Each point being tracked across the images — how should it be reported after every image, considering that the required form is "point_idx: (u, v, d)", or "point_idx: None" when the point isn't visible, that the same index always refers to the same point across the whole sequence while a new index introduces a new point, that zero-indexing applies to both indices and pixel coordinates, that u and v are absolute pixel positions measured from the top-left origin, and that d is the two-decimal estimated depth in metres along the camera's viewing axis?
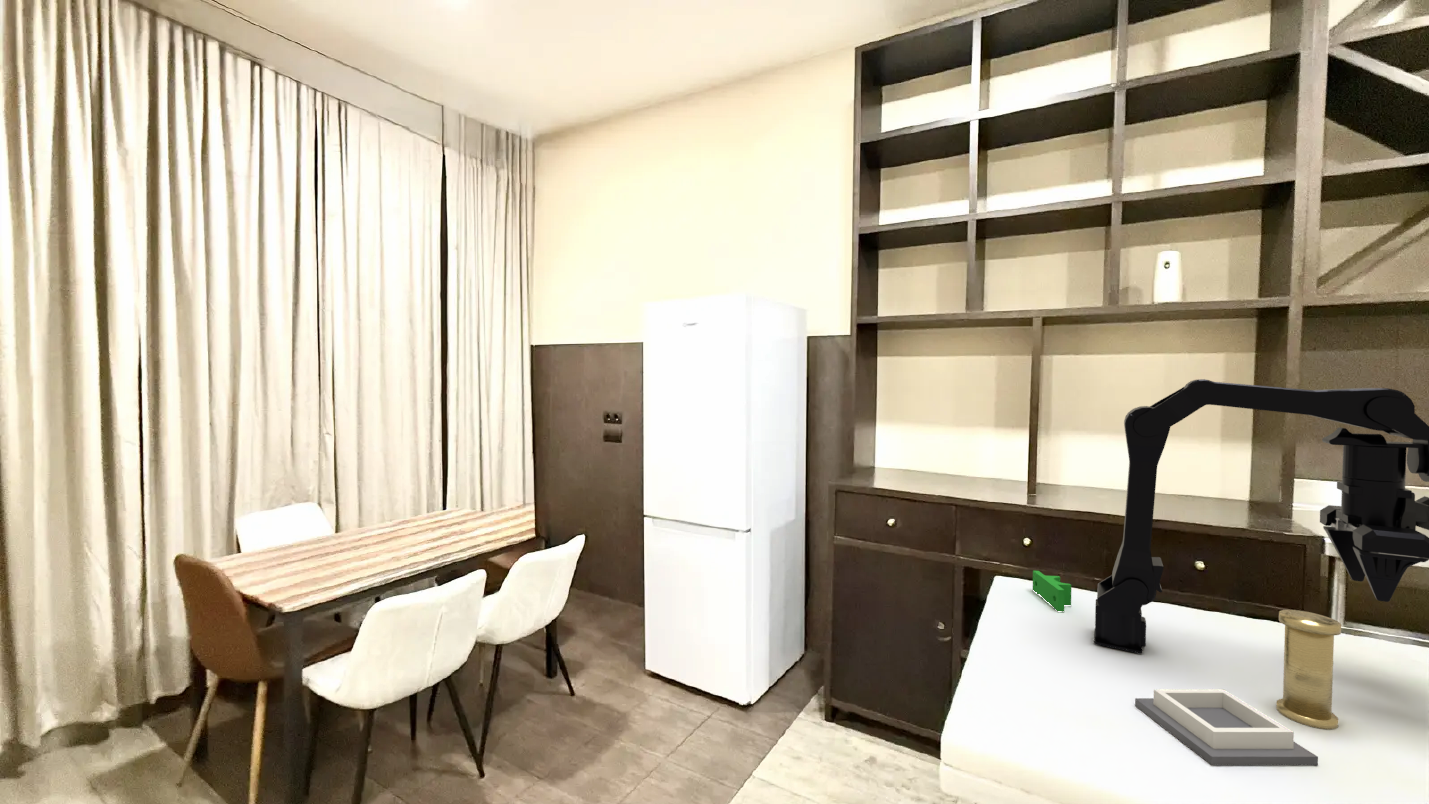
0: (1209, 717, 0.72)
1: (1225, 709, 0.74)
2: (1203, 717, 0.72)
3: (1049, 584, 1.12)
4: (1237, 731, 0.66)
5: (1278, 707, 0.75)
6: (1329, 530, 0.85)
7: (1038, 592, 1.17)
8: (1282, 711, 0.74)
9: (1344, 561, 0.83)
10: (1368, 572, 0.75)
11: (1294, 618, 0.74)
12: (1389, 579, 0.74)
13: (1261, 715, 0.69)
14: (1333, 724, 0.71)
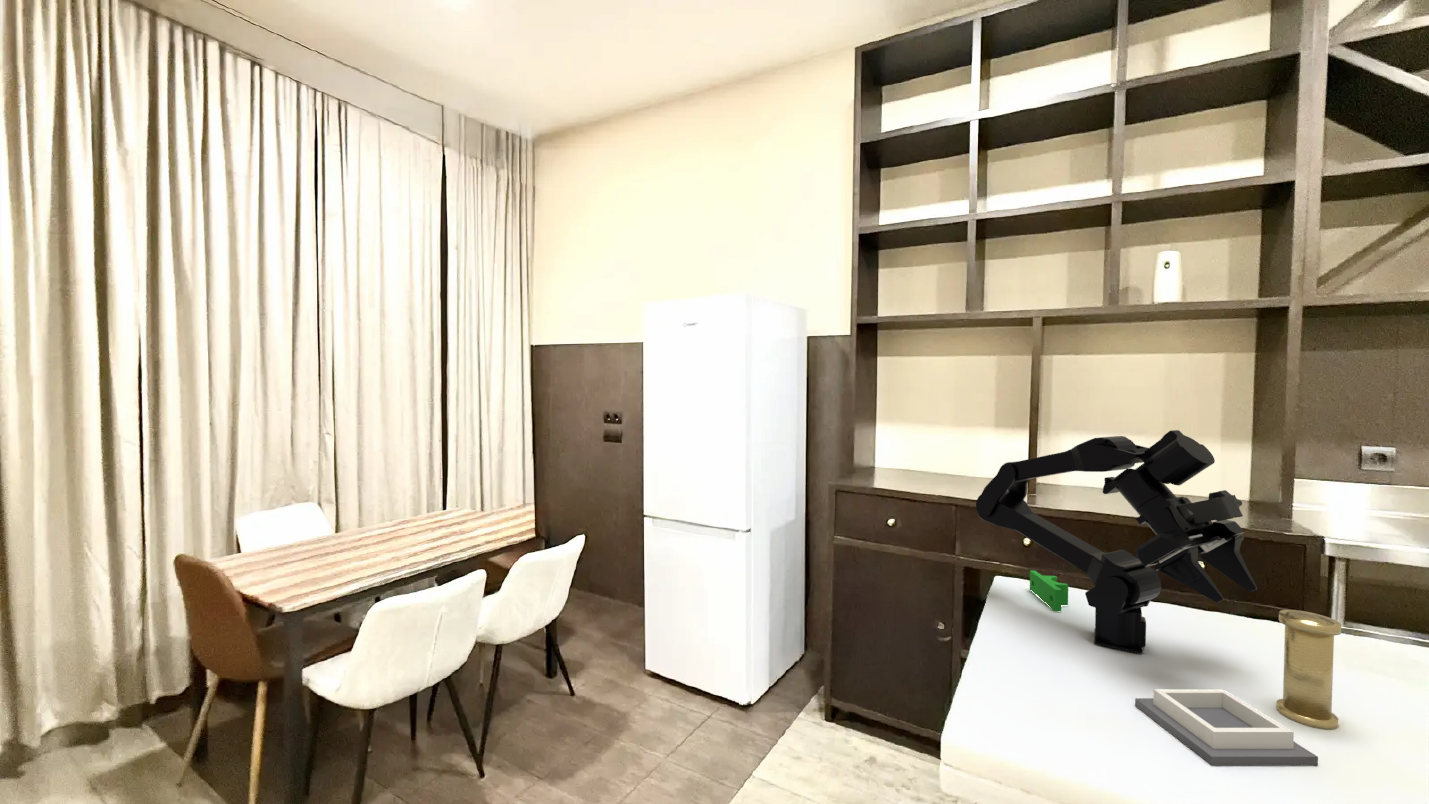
0: (1209, 717, 0.72)
1: (1225, 709, 0.74)
2: (1203, 717, 0.72)
3: (1046, 584, 1.12)
4: (1237, 731, 0.66)
5: (1278, 707, 0.75)
6: (1201, 556, 0.89)
7: (1035, 592, 1.17)
8: (1282, 711, 0.74)
9: (1230, 578, 0.85)
10: (1182, 582, 0.82)
11: (1294, 618, 0.74)
12: (1198, 579, 0.80)
13: (1261, 715, 0.69)
14: (1333, 724, 0.71)
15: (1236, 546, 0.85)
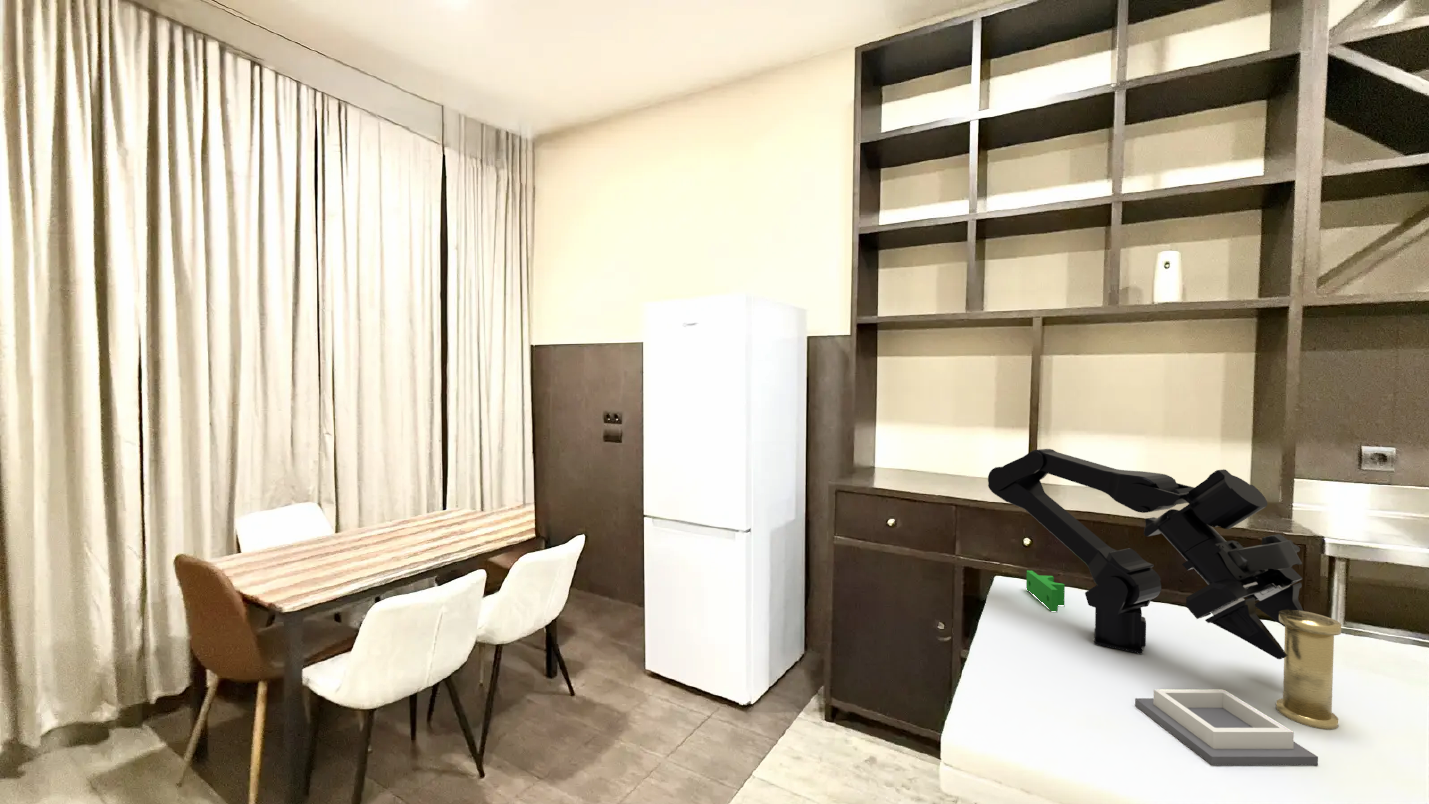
0: (1209, 717, 0.72)
1: (1225, 709, 0.74)
2: (1203, 717, 0.72)
3: (1042, 584, 1.12)
4: (1237, 731, 0.66)
5: (1278, 707, 0.75)
6: (1254, 604, 0.83)
7: (1032, 592, 1.17)
8: (1282, 711, 0.74)
9: None
10: (1239, 635, 0.76)
11: (1294, 618, 0.74)
12: (1257, 633, 0.74)
13: (1261, 715, 0.69)
14: (1333, 724, 0.71)
15: (1294, 594, 0.79)
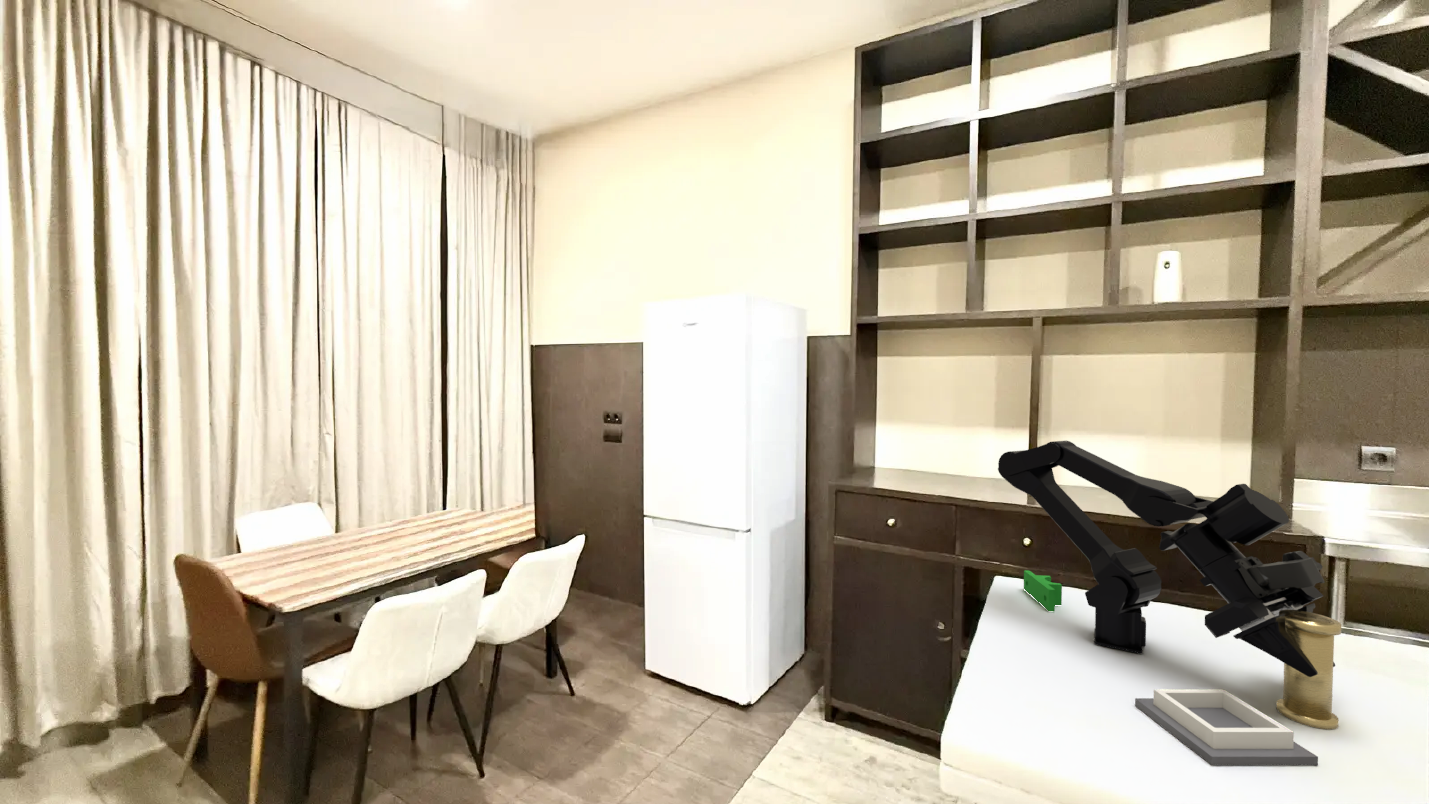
0: (1209, 717, 0.72)
1: (1225, 709, 0.74)
2: (1203, 717, 0.72)
3: (1040, 584, 1.12)
4: (1237, 731, 0.66)
5: (1278, 707, 0.75)
6: None
7: (1029, 592, 1.17)
8: (1283, 711, 0.74)
9: None
10: (1268, 652, 0.75)
11: (1294, 618, 0.74)
12: (1287, 650, 0.73)
13: (1261, 715, 0.69)
14: (1333, 724, 0.71)
15: None
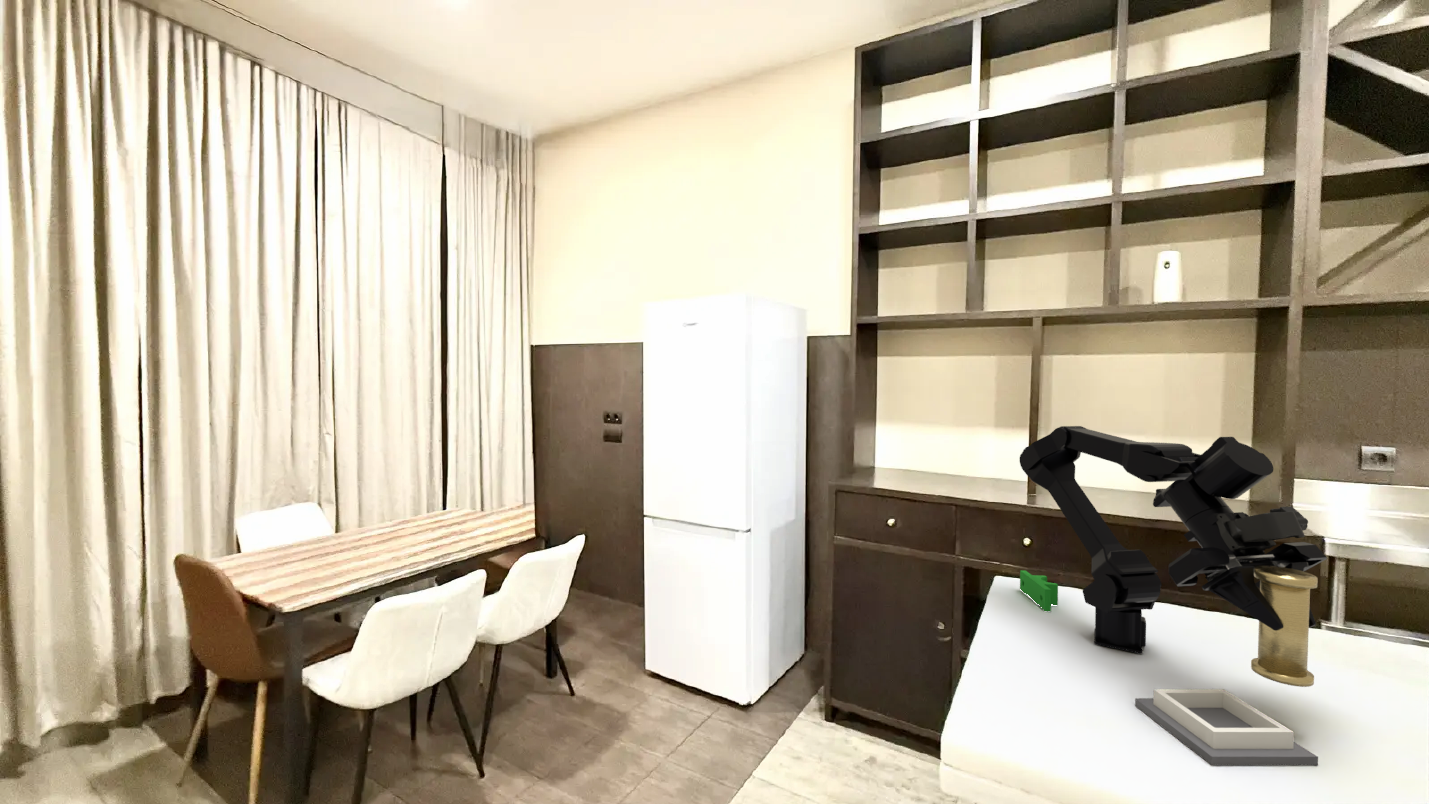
0: (1209, 717, 0.72)
1: (1225, 709, 0.74)
2: (1203, 717, 0.72)
3: (1036, 584, 1.12)
4: (1237, 731, 0.66)
5: (1251, 663, 0.73)
6: (1256, 583, 0.77)
7: (1025, 592, 1.17)
8: (1253, 666, 0.72)
9: None
10: (1236, 605, 0.73)
11: (1266, 571, 0.71)
12: (1253, 603, 0.71)
13: (1261, 715, 0.69)
14: (1302, 681, 0.69)
15: None
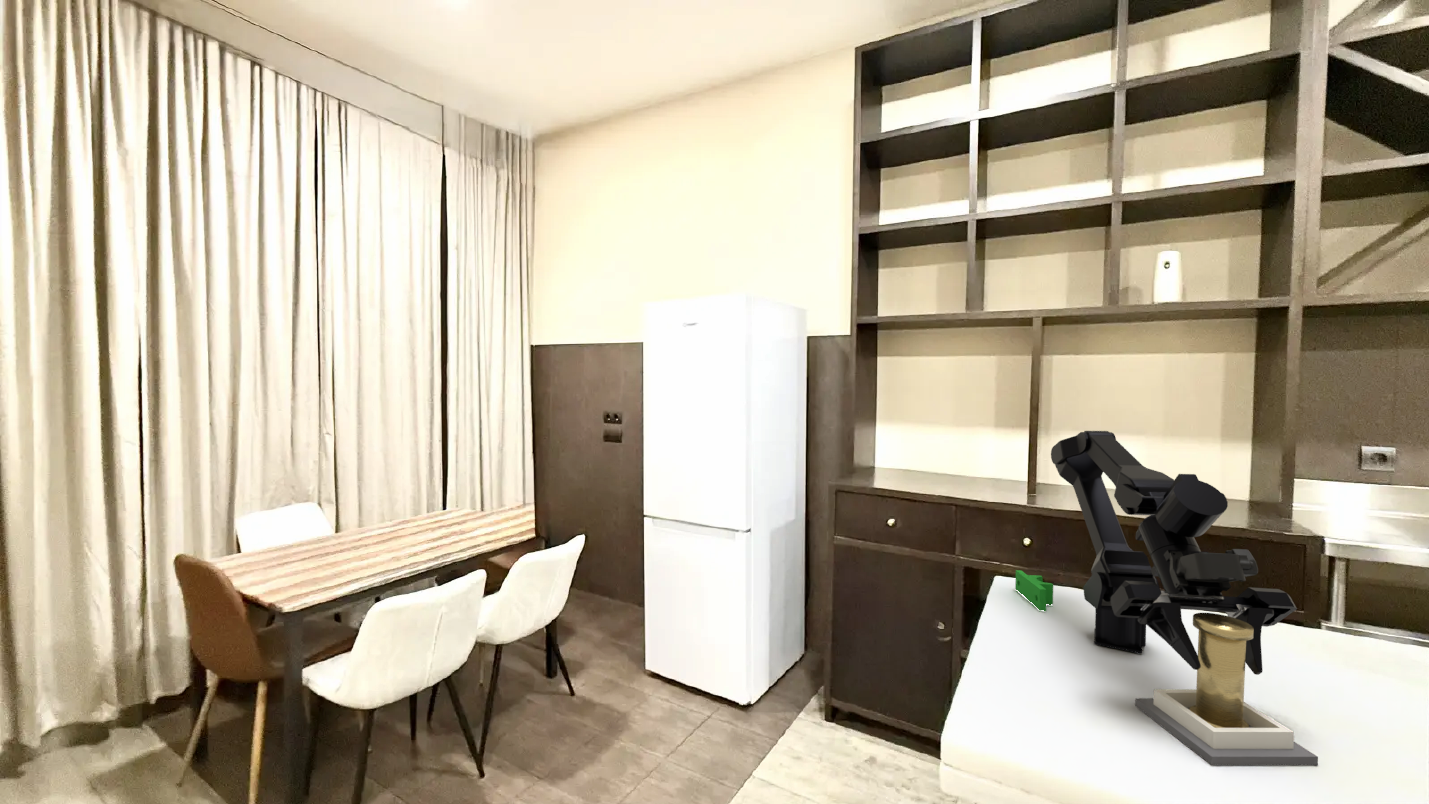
0: None
1: None
2: None
3: (1031, 584, 1.12)
4: (1237, 731, 0.66)
5: None
6: None
7: (1021, 592, 1.17)
8: None
9: None
10: (1167, 641, 0.74)
11: (1202, 618, 0.71)
12: (1177, 640, 0.72)
13: (1261, 715, 0.69)
14: None
15: (1252, 618, 0.71)
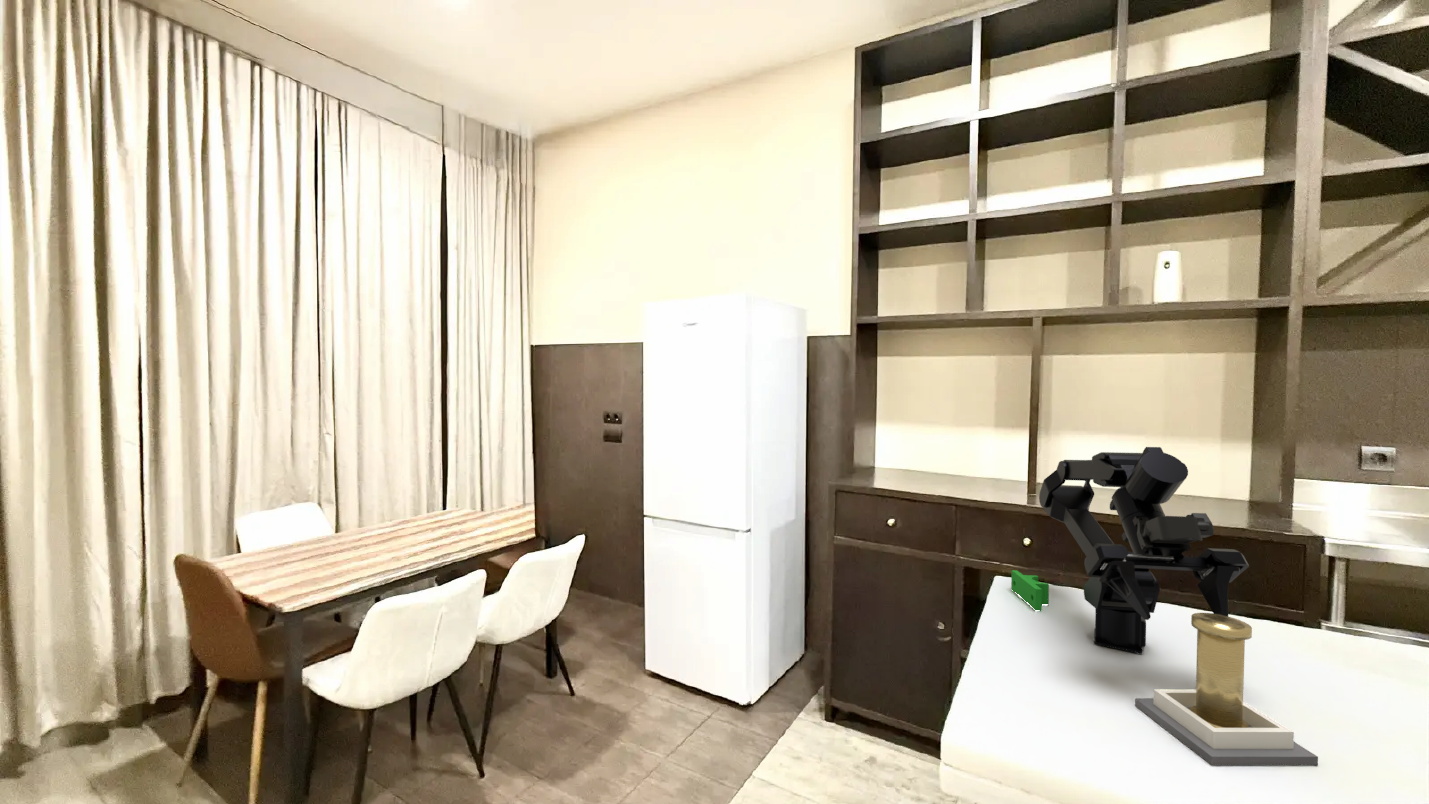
0: None
1: None
2: None
3: (1027, 583, 1.12)
4: (1237, 731, 0.66)
5: None
6: (1198, 585, 0.83)
7: (1016, 592, 1.17)
8: None
9: (1211, 608, 0.79)
10: (1122, 596, 0.82)
11: (1200, 618, 0.72)
12: (1131, 594, 0.80)
13: (1261, 715, 0.69)
14: None
15: (1220, 575, 0.79)
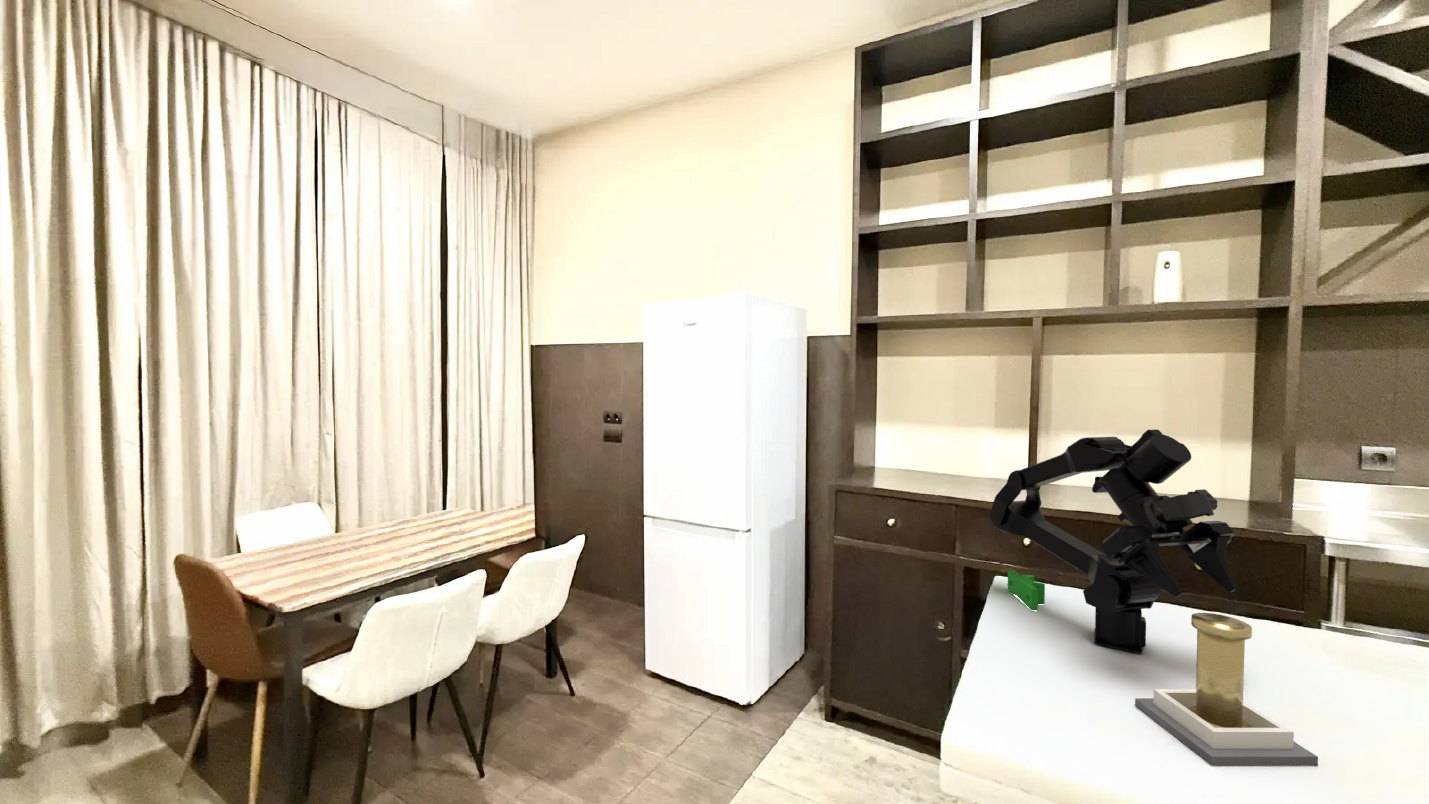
0: None
1: None
2: None
3: (1023, 583, 1.12)
4: (1237, 731, 0.66)
5: None
6: (1189, 556, 0.89)
7: (1013, 591, 1.17)
8: None
9: (1212, 578, 0.85)
10: (1146, 576, 0.84)
11: (1200, 618, 0.72)
12: (1158, 573, 0.82)
13: (1261, 715, 0.69)
14: None
15: (1219, 546, 0.85)
